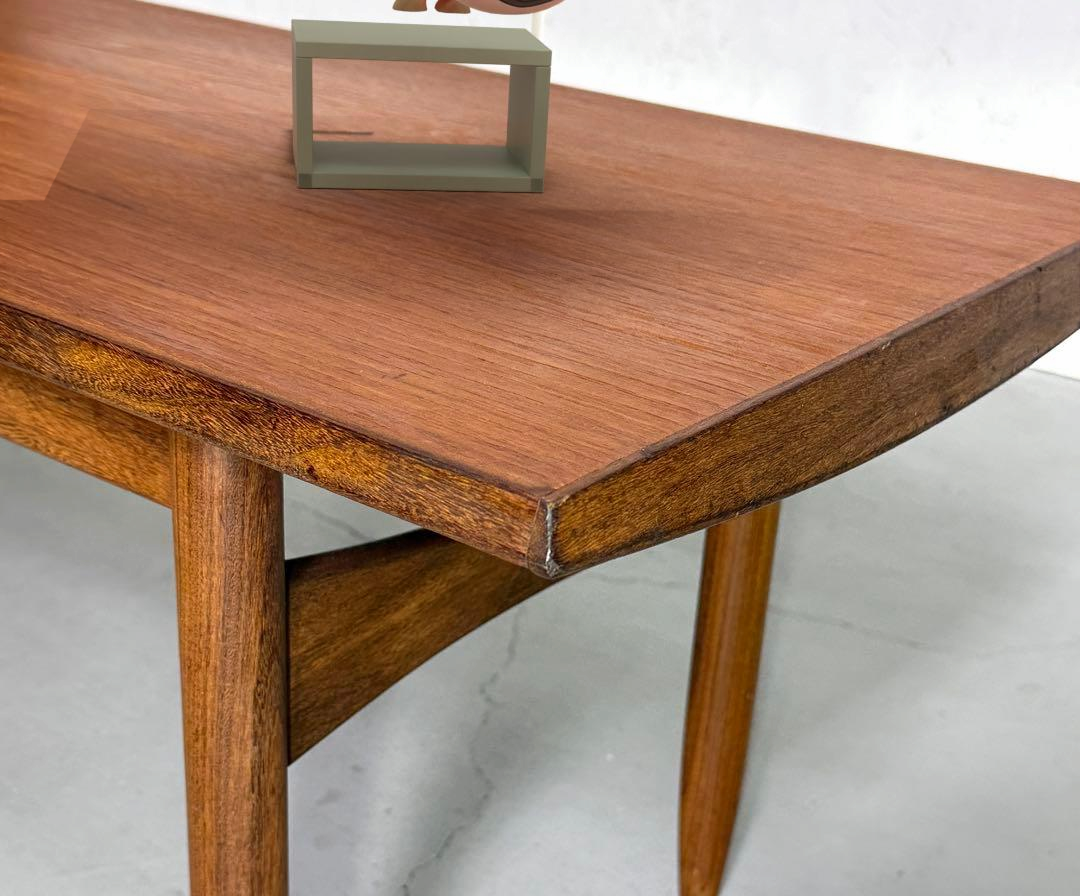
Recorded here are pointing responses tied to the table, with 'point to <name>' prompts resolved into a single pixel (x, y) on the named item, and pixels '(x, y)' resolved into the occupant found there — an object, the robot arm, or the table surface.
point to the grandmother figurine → (446, 4)
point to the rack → (416, 161)
